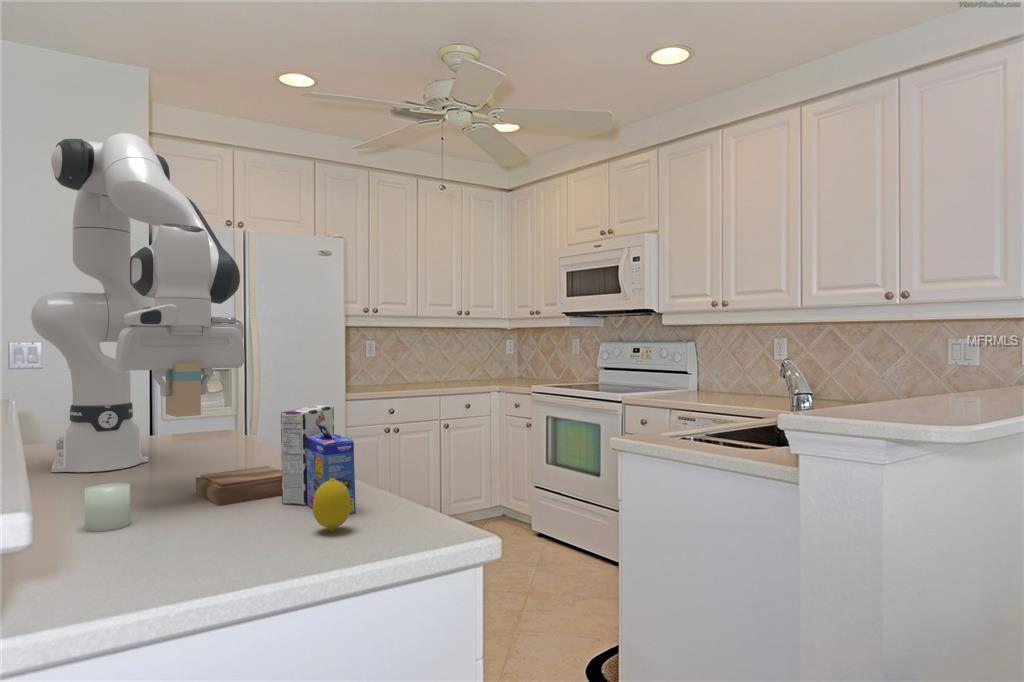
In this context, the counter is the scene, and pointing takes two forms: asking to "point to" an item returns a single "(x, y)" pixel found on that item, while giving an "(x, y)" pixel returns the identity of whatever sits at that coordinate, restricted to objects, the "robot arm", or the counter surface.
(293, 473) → the candy bar box
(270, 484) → the podium
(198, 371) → the carton
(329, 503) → the lemon
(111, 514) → the pale green candle
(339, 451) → the ink cartridge box
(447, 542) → the counter surface
